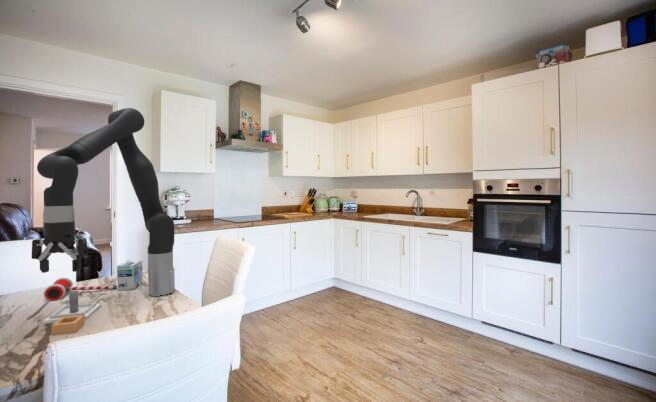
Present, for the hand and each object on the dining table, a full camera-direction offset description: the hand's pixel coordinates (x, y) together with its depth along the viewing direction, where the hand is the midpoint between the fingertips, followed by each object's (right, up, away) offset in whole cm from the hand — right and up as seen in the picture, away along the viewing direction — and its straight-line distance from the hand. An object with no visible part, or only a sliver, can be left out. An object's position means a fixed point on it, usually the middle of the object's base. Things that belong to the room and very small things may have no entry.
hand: (60, 271), depth 99 cm
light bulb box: (-3, -16, +40) cm, 44 cm away
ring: (+4, -18, -1) cm, 18 cm away
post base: (-4, -17, +10) cm, 20 cm away
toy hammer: (-20, -17, +32) cm, 41 cm away
